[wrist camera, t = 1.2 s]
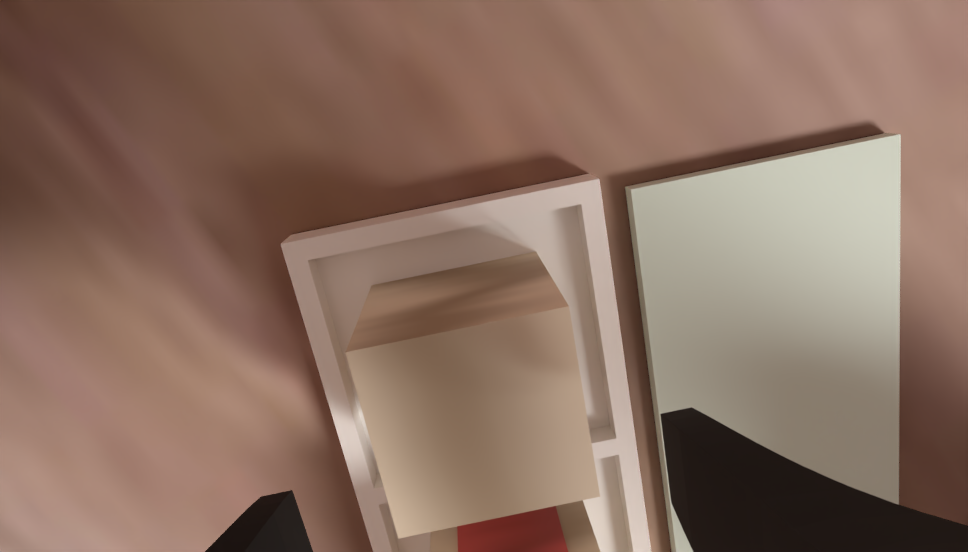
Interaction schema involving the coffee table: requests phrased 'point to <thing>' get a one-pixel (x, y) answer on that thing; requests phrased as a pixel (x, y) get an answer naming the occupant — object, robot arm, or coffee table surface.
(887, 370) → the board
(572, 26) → the coffee table surface
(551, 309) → the plain cube
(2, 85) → the coffee table surface
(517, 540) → the lettered cube
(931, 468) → the coffee table surface
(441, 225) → the sorting tray
